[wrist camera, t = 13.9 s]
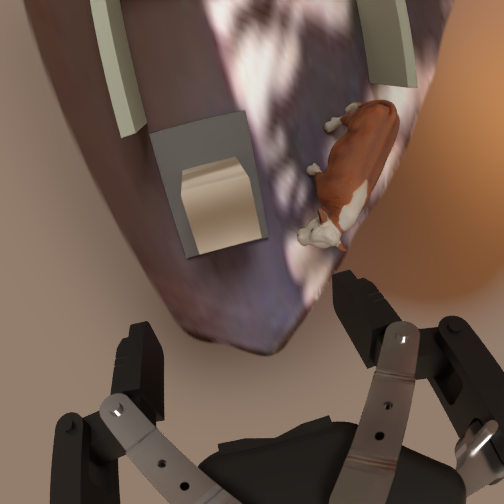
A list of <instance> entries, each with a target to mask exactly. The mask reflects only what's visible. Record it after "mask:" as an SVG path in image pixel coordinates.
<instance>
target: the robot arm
mask: <svg viewBox="0 0 504 504" xmlns="http://www.w3.org/2000/svg"><path fill="white" fill-rule="evenodd" d="M332 283H333V284H332V287H333V305H334V309H335V312H336V314H337V316H338V318H339V320H340V321H341V323H342V325H343V326H344V328H345V330H346V332H347V333H348V335H349V337H350V339H351V340H352V342H353V344H354V346H355V348H356V349H357V351H358V353H359V354H360V356H361V358H362V360H363V361H364V364H365V365H366V367H367V369H368V368H371V367H373V366H376V371H375V372H374V375H373V379H372V383H371V386H370V389H369V393H368V397H367V400H366V403H365V406H364V409H363V412H362V416H361V419H360V422H359V425H357V424H354V423H349V422H331V419H330V417H329V416H326V417H322V418H319V419H316V420H313V421H310V422H306V423H303V424H301V425H299V426H297V427H296V428H294V429H292V430H290V431H288V432H286V433H284V434H282V435H280V436H279V437H276V438H256V439H255V438H254V439H253V438H250V439H249V438H248V439H247V438H245V439H240V440H236V441H231V442H226V443H221V444H218V448H219V451H218V452H216V453H214V454H212V455H210V456H209V457H208V458H206V459H205V460H204V461H203V462H201V463H200V464H199V466H198V467H197V466H196V465H195V464H193V463H192V462H191V461H190V460H189V459H188V458H187V457H186V456H185V455H184V454H183V453H182V452H181V451H179V450H178V449H177V448H176V447H175V446H174V445H173V444H172V443H171V442H170V441H169V440H168V439H167V438H166V437H165V436H164V435H163V434H162V433H161V432H160V431H159V430H158V429H157V428H156V422H157V421H163V420H164V354H163V350H162V347H161V345H160V343H159V341H158V339H157V337H156V335H155V333H154V331H153V329H152V327H151V326H150V324H149V322H147V321H145V322H141V323H136V324H132V325H130V329H129V337H127V338H123V339H122V341H121V342H120V344H119V346H118V348H117V352H116V359H115V367H114V372H113V380H112V387H111V394H110V396H108V397H107V398H106V399H105V400H104V401H103V402H102V404H101V406H100V410H99V411H97V412H95V413H93V414H91V415H88V416H86V417H84V418H82V417H81V416H80V415H79V414H77V413H73V412H70V413H67V414H65V415H64V416H62V417H61V418H60V419H59V421H58V422H57V425H56V428H55V437H54V446H53V455H52V468H51V484H50V504H120V494H119V475H118V458H119V457H121V456H124V455H126V454H127V456H128V457H129V458H130V460H131V461H132V462H133V463H134V464H135V466H136V467H137V468H138V469H139V470H140V472H141V473H142V474H143V475H144V476H145V477H146V478H147V480H148V481H149V482H150V483H151V484H152V485H153V486H154V487H155V488H156V489H157V491H158V492H159V493H160V494H161V495H162V496H163V497H164V498H165V499H166V500H167V501H168V502H169V503H170V504H466V498H467V497H468V496H470V495H472V494H473V493H474V492H477V491H478V490H480V489H481V488H483V487H485V486H486V485H493V484H496V483H498V482H499V481H501V480H502V479H504V372H503V370H502V369H501V367H500V366H499V364H498V363H497V362H496V360H495V359H494V357H493V356H492V355H491V353H490V352H489V351H488V349H487V348H486V347H485V345H484V344H483V343H482V341H481V340H480V338H479V337H478V336H477V335H476V334H475V332H474V331H473V330H472V328H471V327H470V325H469V324H468V323H467V322H466V321H465V320H464V319H462V318H460V317H457V316H447V317H445V318H443V319H442V320H441V321H440V322H439V325H438V327H434V328H425V329H418V328H417V327H416V326H415V325H414V324H412V323H409V322H406V321H402V320H401V319H400V317H399V316H398V315H397V313H396V312H395V311H394V309H393V308H392V307H391V306H390V304H389V303H388V302H387V300H386V299H384V296H383V295H382V294H381V293H380V292H379V290H378V289H377V288H376V286H375V285H374V284H373V283H372V282H370V281H368V280H367V279H365V278H361V279H357V278H356V277H355V275H354V274H353V273H352V272H351V270H346V271H343V272H339V273H336V274H333V276H332ZM426 378H427V379H428V381H429V382H430V384H431V386H432V388H433V389H434V391H435V393H436V395H437V397H438V398H439V400H440V402H441V404H442V406H443V408H444V410H445V411H446V413H447V415H448V417H449V419H450V421H451V423H452V425H453V427H454V428H455V430H456V432H457V434H458V436H459V438H460V439H459V440H458V442H457V443H456V446H455V456H456V459H457V466H456V469H453V468H452V467H450V466H448V465H446V464H444V463H441V462H439V461H436V460H434V459H431V458H429V457H427V456H425V455H422V454H420V453H418V452H416V451H413V450H411V449H409V448H407V447H405V446H402V442H403V438H404V434H405V430H406V426H407V421H408V417H409V412H410V407H411V402H412V397H413V391H414V386H415V380H418V379H426Z"/></svg>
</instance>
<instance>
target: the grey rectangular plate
mask: <svg viewBox="0 0 504 504" xmlns="http://www.w3.org/2000/svg"><path fill="white" fill-rule="evenodd" d="M149 135H150V139H151V143H152V146H153V150H154V153H155V157H156V161H157V164H158V168H159V171H160V174H161V178H162V181H163V185H164V188H165V191H166V195H167V198H168V201H169V205H170V208H171V211H172V214H173V217H174V221H175V224H176V227H177V230H178V233H179V236H180V239H181V242H182V246H183V249H184V252H185V255H186V258H189V257H193V256H197V255H200V254H199V251H198V248H197V245H196V242H195V239H194V236H193V233H192V230H191V227H190V223H189V220H188V217H187V214H186V211H185V207H184V204H183V201H182V198H181V186H182V171H183V170H186V169H190V168H193V167H197V166H201V165H204V164H208V163H212V162H216V161H220V160H224V159H228V158H232V157H236V158H237V159H238V161H239V162H240V164H241V166H242V167H243V169H244V170H245V172H246V174H247V175H248V177H249V180H250V184H251V189H252V194H253V198H254V203H255V208H256V213H257V217H258V222H259V227H260V232H261V236H262V238H259V239H255V240H252V241H256V240H260V239H263V238H267V237H269V236H268V230H267V224H266V219H265V213H264V208H263V202H262V197H261V191H260V186H259V180H258V175H257V169H256V164H255V159H254V153H253V148H252V143H251V138H250V132H249V127H248V122H247V117H246V112H245V110H244V111H239V112H234V113H229V114H225V115H220V116H216V117H211V118H207V119H203V120H199V121H195V122H191V123H187V124H183V125H179V126H176V127H172V128H168V129H165V130H161V131H158V132H154V133H151V134H149ZM252 241H248V242H252ZM248 242H244V243H248ZM244 243H240V244H244ZM240 244H237V245H240ZM233 246H236V245H233ZM229 247H232V246H229ZM226 248H228V247H226ZM222 249H224V248H222ZM218 250H220V249H218ZM214 251H216V250H214ZM211 252H212V251H211ZM207 253H208V252H207ZM203 254H204V253H203Z"/></svg>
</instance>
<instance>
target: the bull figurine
mask: <svg viewBox="0 0 504 504" xmlns="http://www.w3.org/2000/svg"><path fill="white" fill-rule="evenodd" d="M345 112H347V113H346V114H345V115H343V116H342V117H339V118H335V117H332V118H331V121H329V122H326V123H325V125H324V129H325V131H326V132H327V133H330V132H332V131H334V130H335V129H336V128H337V127H338V126H340V125H346V126H347V127H348V132H347V133H346V134H345V135H344V136H343V137H342V138H340V139H339V140H338V141H337V142H336V143H335V145H334V146H333V148H332V149H331V152H330V154H329V158H328V166H327V168H326V171H325V173H324V172H322V171H320V167H319V166H317V164H316V163H313V165H312V166H308V167H307V168H306V173H307V174H308V175H315V176H314V179H315V181H316V188H317V197H318V199H319V201H320V203H321V205H322V207H321V208H318V215H319V217H317V218H315V219H313V220H312V221H311V222H310V223H309V224H308V226H307V227H306V228H302V229H300V230H299V231H298V233H297V239H298V241H299V243H300V244H301V245H303V246H306V245H313V246H315V247H318V248H328V247H330V246H336V247H337V248H338V249H340V250H342V251H345V252H346V251H347V249H346V247H345V246H344V245H343V243H342V242H341V241H340V237H341V235H342V234H343V233H344V232H346V231H347V230H348V229H349V228H350V227H351V226H352V225H353V224H354V223H355V222H356V219H357V217H358V215H359V214H360V213H361V211H362V210H363V209H364V207H365V206H366V204H367V202H368V200H369V197H370V194H371V192H372V190H373V189H374V187H375V185H376V183H377V181H378V179H379V177H380V175H381V172H382V170H383V167H384V165H385V162H386V160H387V157H388V155H389V153H390V151H391V149H392V147H393V145H394V142H395V139H396V136H397V133H398V130H399V124H400V120H399V116H398V114H397V110H396V107H395V105H394V104H393V103H391V102H389V101H386V100H374V101H370V102H364V103H360V102H358V103H352V104H350V105H349V106H348V107H346V108H345Z"/></svg>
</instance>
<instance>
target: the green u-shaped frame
mask: <svg viewBox="0 0 504 504" xmlns="http://www.w3.org/2000/svg"><path fill="white" fill-rule="evenodd" d="M356 2H357V7H358V12H359V17H360V22H361V28H362V33H363V39H364V45H365V52H366V59H367V66H368V73H369V81H370V83H372V84H382V85H391V86H399V87H407V88H418V87H417V76H416V66H415V58H414V50H413V43H412V36H411V30H410V24H409V18H408V13H407V8H406V3H405V0H356ZM90 3H91V9H92V15H93V20H94V25H95V31H96V36H97V41H98V46H99V50H100V55H101V60H102V64H103V68H104V73H105V77H106V81H107V85H108V89H109V93H110V97H111V101H112V105H113V109H114V113H115V117H116V120H117V124H118V128H119V131H120V135H121V138H122V137H125V136H128V135H132V134H135V133H136V132H137V131H139V130H140V129H141V128H142V127H143V126H144V125H145V124H146V123H147V120H146V116H145V113H144V109H143V105H142V101H141V97H140V93H139V88H138V84H137V80H136V76H135V72H134V67H133V63H132V58H131V54H130V49H129V45H128V40H127V35H126V30H125V25H124V20H123V15H122V10H121V5H120V0H90Z"/></svg>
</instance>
